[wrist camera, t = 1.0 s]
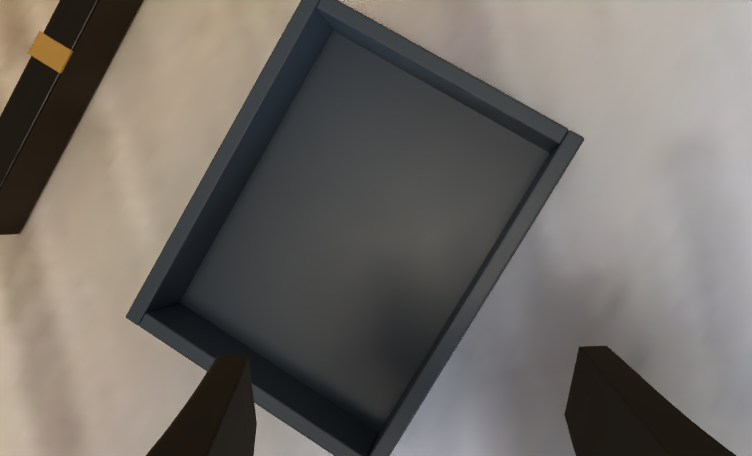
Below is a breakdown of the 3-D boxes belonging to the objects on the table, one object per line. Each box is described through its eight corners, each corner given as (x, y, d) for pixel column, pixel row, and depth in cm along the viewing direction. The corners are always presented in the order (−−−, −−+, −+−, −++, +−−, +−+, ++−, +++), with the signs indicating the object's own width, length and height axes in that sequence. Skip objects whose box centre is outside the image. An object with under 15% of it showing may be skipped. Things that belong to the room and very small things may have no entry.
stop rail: (193, -91, 26) (162, -125, 24) (20, 235, 28) (-26, 237, 25) (162, -109, 26) (128, -144, 24) (-8, 217, 28) (-57, 216, 25)
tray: (570, 148, 24) (585, 138, 21) (385, 448, 25) (373, 482, 22) (330, 13, 25) (309, -16, 22) (166, 305, 27) (124, 317, 24)
